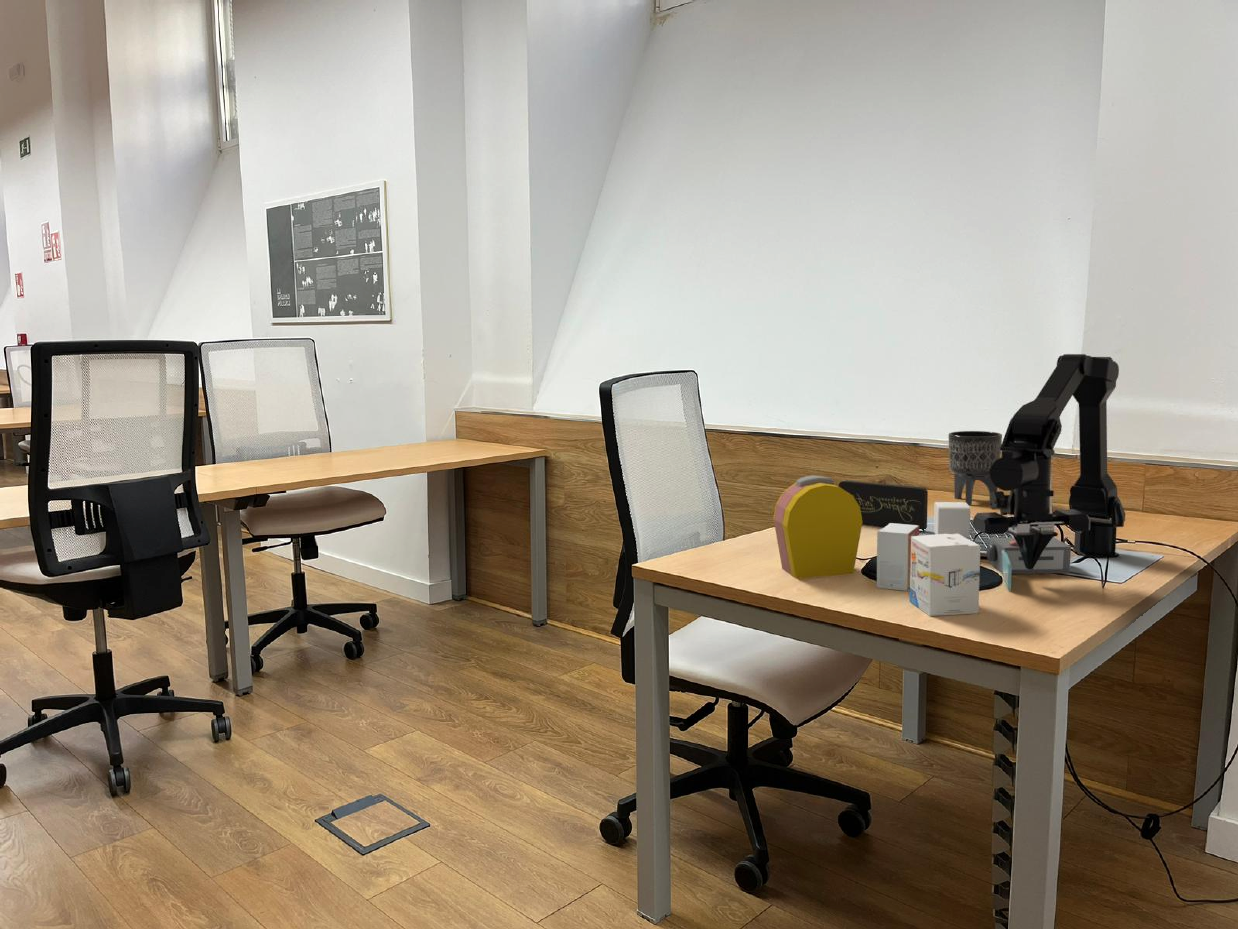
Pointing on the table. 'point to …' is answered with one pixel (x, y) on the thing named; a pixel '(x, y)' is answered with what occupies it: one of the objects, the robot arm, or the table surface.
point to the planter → (973, 459)
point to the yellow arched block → (817, 528)
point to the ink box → (945, 574)
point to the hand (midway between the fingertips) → (1029, 568)
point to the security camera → (952, 518)
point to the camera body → (1049, 561)
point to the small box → (895, 556)
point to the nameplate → (889, 503)
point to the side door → (1006, 569)
